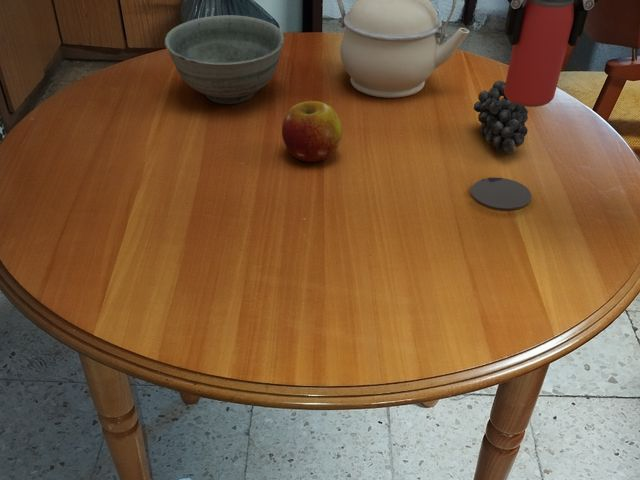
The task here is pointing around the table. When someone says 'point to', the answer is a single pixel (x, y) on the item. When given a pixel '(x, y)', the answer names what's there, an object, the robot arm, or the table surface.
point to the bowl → (226, 55)
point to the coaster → (501, 194)
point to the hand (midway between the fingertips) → (541, 40)
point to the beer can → (539, 52)
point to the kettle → (394, 45)
